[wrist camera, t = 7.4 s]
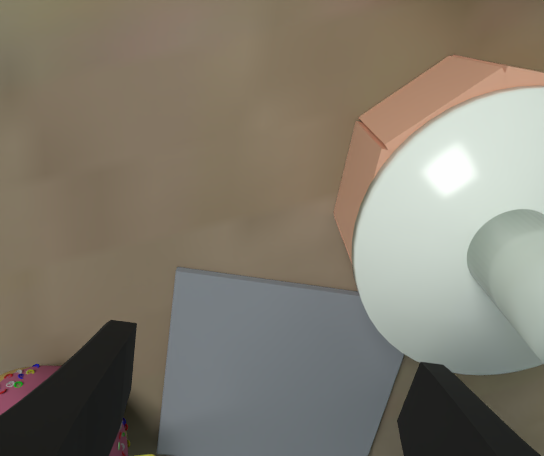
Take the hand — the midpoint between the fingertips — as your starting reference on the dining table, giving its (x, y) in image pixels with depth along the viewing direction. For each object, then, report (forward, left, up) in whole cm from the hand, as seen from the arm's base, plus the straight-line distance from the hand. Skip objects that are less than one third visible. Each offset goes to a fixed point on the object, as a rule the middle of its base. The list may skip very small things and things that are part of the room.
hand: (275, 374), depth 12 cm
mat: (-2, +9, -11) cm, 14 cm away
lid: (-8, -2, -6) cm, 10 cm away
